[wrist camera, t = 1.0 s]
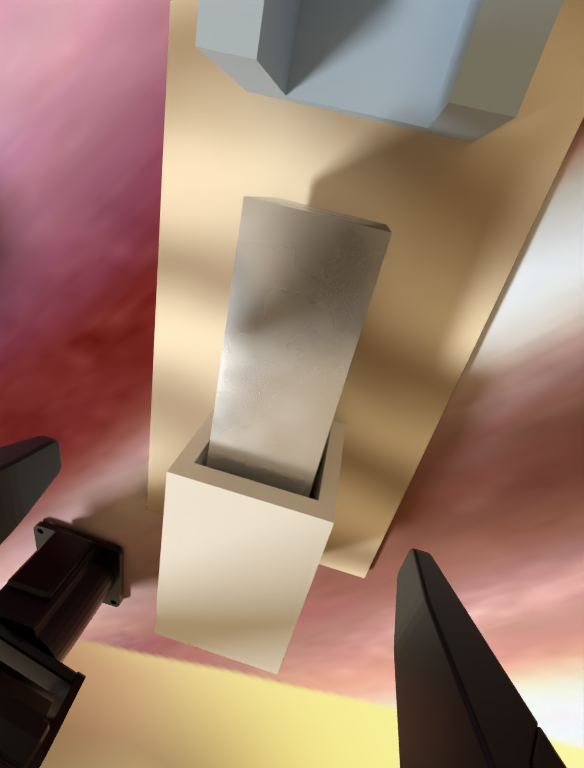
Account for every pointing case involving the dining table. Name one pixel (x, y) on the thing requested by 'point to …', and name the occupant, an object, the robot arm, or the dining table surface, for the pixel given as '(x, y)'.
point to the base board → (399, 268)
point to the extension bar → (290, 337)
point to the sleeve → (240, 554)
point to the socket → (385, 56)
